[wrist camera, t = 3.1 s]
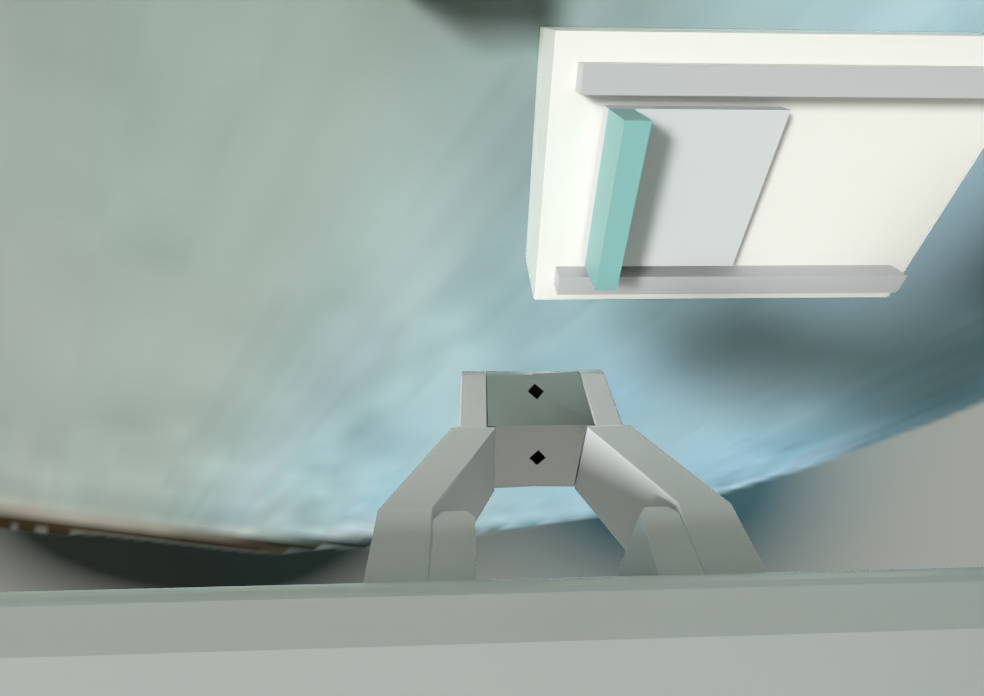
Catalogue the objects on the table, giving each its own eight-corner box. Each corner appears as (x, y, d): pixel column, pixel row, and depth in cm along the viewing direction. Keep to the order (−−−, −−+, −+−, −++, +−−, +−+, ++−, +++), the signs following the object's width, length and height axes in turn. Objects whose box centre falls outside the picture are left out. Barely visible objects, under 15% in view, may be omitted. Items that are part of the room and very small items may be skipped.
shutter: (604, 105, 18) (624, 120, 16) (780, 106, 19) (828, 121, 16) (581, 259, 23) (594, 290, 20) (725, 258, 23) (756, 289, 20)
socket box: (540, 26, 21) (560, 31, 16) (948, 31, 22) (1088, 38, 17) (525, 258, 28) (536, 311, 23) (831, 257, 29) (904, 308, 24)
